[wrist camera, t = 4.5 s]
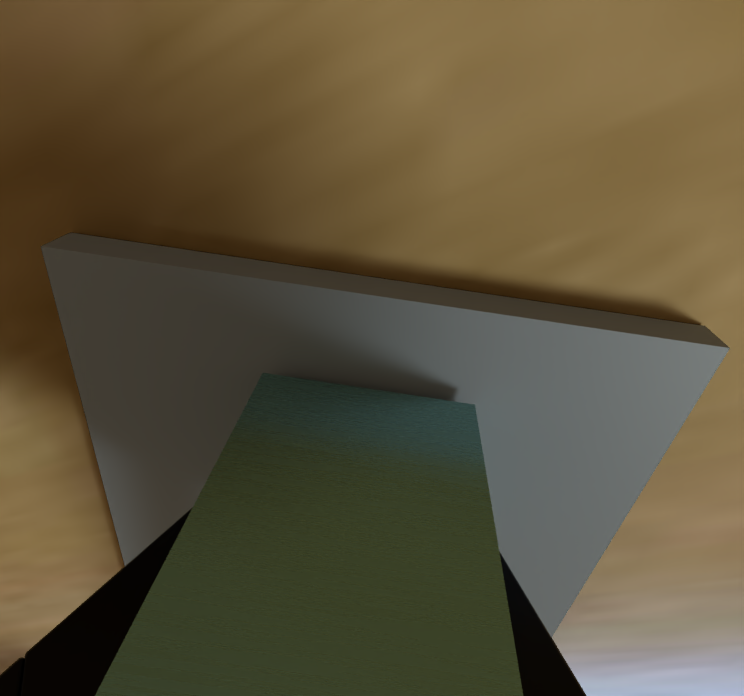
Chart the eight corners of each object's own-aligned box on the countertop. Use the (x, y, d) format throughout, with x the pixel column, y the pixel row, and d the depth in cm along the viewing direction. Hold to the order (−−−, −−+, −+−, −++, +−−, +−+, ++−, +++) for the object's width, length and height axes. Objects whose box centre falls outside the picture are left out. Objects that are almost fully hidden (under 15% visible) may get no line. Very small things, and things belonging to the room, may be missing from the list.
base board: (444, 785, 21) (445, 809, 20) (185, 743, 21) (177, 765, 20) (705, 325, 9) (729, 348, 8) (70, 232, 9) (41, 246, 8)
